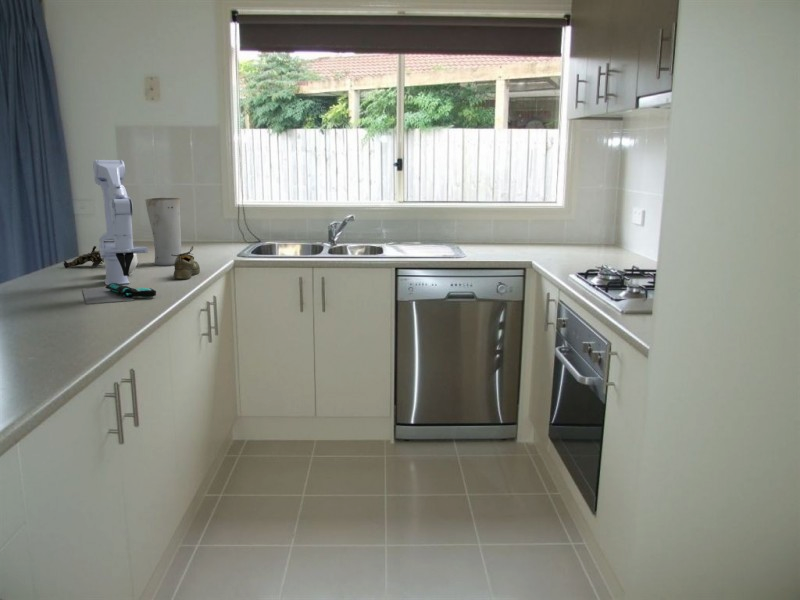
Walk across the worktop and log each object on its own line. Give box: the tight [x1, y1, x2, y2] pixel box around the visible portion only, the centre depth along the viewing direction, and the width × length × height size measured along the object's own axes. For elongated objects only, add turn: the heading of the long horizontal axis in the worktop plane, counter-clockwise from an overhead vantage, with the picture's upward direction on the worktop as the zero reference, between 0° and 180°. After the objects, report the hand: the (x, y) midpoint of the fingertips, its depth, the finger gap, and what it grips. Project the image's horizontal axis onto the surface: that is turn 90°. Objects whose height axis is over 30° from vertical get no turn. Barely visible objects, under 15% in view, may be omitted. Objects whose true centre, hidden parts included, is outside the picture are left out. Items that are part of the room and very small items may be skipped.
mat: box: [82, 287, 135, 305], centre depth 224 cm, size 24×14×1 cm, turn 27°
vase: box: [145, 197, 183, 267], centre depth 286 cm, size 13×14×28 cm
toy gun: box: [104, 283, 157, 299], centre depth 225 cm, size 3×20×10 cm
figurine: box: [63, 245, 104, 269], centre depth 277 cm, size 10×8×18 cm
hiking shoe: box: [173, 245, 201, 280], centre depth 262 cm, size 8×20×12 cm, turn 3°
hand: (125, 275), depth 226 cm, fingers closed
